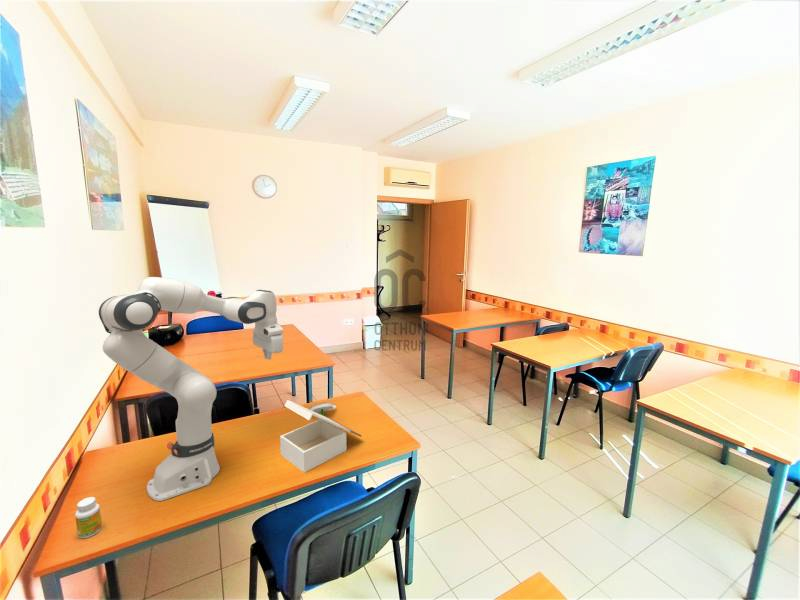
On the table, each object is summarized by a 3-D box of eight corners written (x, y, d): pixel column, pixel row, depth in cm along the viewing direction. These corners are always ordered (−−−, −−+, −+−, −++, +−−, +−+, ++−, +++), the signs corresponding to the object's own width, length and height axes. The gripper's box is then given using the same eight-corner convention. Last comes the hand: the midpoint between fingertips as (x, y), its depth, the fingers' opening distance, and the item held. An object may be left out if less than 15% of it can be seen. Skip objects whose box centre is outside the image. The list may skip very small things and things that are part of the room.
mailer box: (304, 472, 132) (303, 452, 131) (280, 454, 143) (279, 436, 142) (346, 450, 147) (346, 432, 145) (322, 435, 158) (321, 418, 157)
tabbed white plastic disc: (333, 406, 184) (336, 393, 178) (337, 420, 179) (340, 407, 172) (304, 412, 178) (305, 398, 172) (307, 426, 173) (308, 412, 166)
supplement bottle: (79, 542, 100) (75, 511, 99) (76, 532, 104) (72, 502, 103) (104, 530, 104) (100, 501, 103) (100, 521, 108) (96, 492, 107)
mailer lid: (308, 420, 131) (312, 413, 132) (284, 405, 142) (287, 399, 143) (358, 441, 151) (361, 435, 152) (333, 427, 163) (336, 421, 164)
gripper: (248, 324, 156) (249, 355, 158) (271, 332, 142) (272, 365, 144) (261, 322, 160) (263, 352, 162) (285, 330, 147) (286, 362, 149)
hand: (267, 358), depth 153 cm, fingers closed
